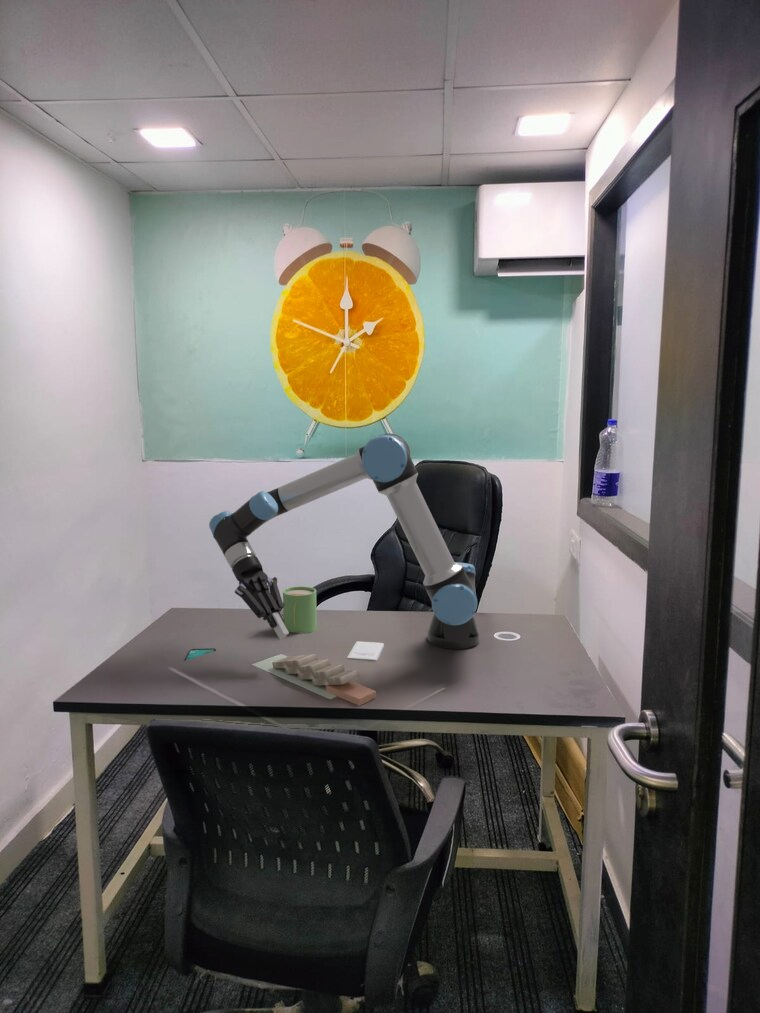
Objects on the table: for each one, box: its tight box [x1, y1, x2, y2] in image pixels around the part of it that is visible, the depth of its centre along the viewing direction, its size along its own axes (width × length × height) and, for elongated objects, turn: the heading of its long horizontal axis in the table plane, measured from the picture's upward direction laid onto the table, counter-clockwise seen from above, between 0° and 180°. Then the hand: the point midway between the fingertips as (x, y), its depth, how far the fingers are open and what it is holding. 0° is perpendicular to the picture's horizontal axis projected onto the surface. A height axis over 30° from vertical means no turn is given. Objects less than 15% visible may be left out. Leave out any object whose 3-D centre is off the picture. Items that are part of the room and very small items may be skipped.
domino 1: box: [272, 653, 318, 669], centre depth 164 cm, size 2×6×11 cm
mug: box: [281, 585, 318, 635], centre depth 196 cm, size 13×10×12 cm
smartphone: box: [184, 648, 217, 661], centre depth 173 cm, size 7×1×15 cm
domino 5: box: [326, 680, 377, 707], centre depth 151 cm, size 2×6×11 cm
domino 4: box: [312, 669, 361, 686], centre depth 154 cm, size 2×6×11 cm
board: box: [251, 653, 338, 700], centre depth 162 cm, size 30×10×1 cm, turn 48°
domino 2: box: [285, 658, 332, 674], centre depth 161 cm, size 2×6×11 cm
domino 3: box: [298, 664, 346, 680], centre depth 158 cm, size 2×6×11 cm
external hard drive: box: [346, 640, 385, 662], centre depth 178 cm, size 2×8×12 cm
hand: (284, 636), depth 166 cm, fingers closed
